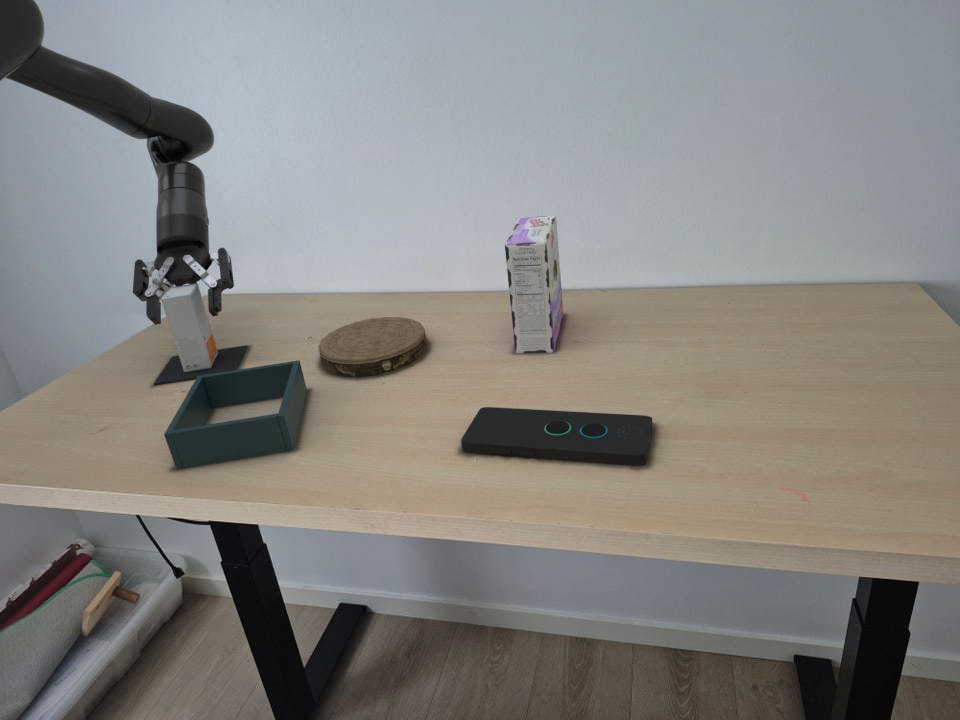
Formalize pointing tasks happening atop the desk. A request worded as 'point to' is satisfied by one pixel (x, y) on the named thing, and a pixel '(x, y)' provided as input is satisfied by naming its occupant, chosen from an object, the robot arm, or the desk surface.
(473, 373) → the desk surface
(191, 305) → the cosmetic box
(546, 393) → the desk surface
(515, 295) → the candy box
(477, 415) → the smart home device
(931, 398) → the desk surface
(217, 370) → the desk pad
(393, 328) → the brown flat disc
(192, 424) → the storage box
